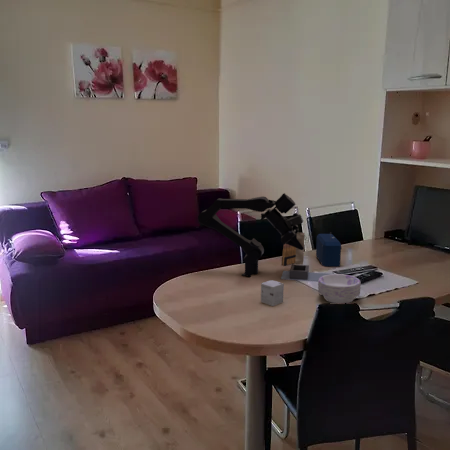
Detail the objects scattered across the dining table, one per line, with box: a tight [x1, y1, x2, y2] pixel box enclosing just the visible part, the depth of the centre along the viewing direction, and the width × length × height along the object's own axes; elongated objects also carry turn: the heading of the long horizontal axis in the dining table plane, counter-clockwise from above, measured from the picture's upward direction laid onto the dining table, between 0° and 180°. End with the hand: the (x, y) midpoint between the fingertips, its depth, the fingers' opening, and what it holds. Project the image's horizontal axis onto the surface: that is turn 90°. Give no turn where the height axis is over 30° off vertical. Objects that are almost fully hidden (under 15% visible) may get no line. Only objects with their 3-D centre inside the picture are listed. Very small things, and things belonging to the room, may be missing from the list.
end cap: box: [289, 264, 310, 280], centre depth 197 cm, size 7×9×4 cm
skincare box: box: [260, 279, 285, 307], centre depth 169 cm, size 6×6×7 cm
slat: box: [294, 231, 305, 265], centre depth 195 cm, size 3×5×12 cm, turn 167°
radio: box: [315, 233, 342, 268], centre depth 219 cm, size 21×9×20 cm, turn 179°
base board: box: [280, 270, 330, 283], centre depth 197 cm, size 24×12×1 cm, turn 77°
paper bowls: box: [317, 273, 362, 304], centre depth 172 cm, size 15×15×8 cm
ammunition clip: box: [281, 244, 296, 267], centre depth 215 cm, size 11×2×12 cm, turn 127°
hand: (303, 247), depth 195 cm, fingers closed on slat, 5 cm apart
